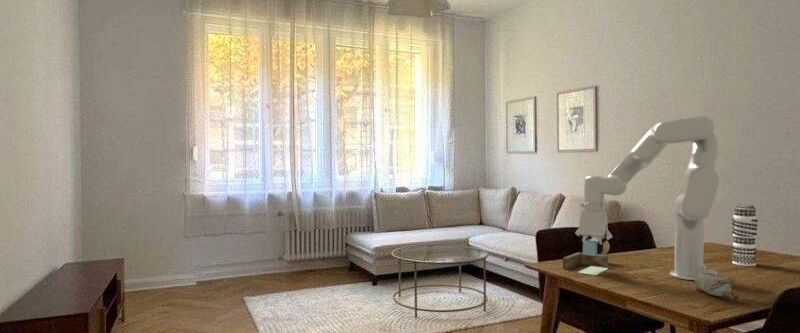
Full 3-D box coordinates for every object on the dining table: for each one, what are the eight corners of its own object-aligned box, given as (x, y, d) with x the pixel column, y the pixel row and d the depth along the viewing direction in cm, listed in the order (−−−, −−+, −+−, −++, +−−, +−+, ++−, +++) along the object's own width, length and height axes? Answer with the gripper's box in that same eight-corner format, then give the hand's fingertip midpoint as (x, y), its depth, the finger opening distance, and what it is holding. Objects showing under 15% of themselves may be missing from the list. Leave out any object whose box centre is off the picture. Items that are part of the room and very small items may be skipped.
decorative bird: (703, 289, 175) (703, 268, 175) (741, 303, 159) (741, 279, 159) (689, 290, 174) (689, 268, 174) (725, 304, 158) (726, 280, 158)
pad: (608, 268, 206) (608, 268, 206) (595, 275, 195) (595, 274, 195) (591, 266, 211) (591, 265, 211) (577, 272, 199) (577, 272, 199)
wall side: (607, 266, 210) (608, 255, 210) (606, 267, 209) (606, 256, 208) (577, 262, 218) (578, 252, 218) (576, 263, 217) (576, 252, 216)
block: (594, 255, 198) (594, 243, 198) (582, 254, 201) (583, 241, 201) (602, 252, 205) (603, 240, 205) (591, 251, 208) (591, 238, 208)
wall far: (582, 263, 217) (582, 252, 217) (567, 269, 205) (567, 258, 205) (577, 262, 218) (578, 252, 218) (562, 268, 206) (562, 257, 206)
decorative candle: (749, 261, 220) (750, 203, 219) (762, 266, 211) (763, 206, 210) (726, 261, 221) (727, 203, 220) (738, 265, 212) (739, 205, 211)
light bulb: (607, 264, 214) (607, 240, 214) (591, 262, 218) (591, 239, 218) (611, 262, 219) (611, 238, 219) (596, 260, 223) (596, 237, 223)
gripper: (569, 206, 205) (568, 251, 205) (612, 209, 194) (611, 257, 195) (576, 204, 211) (575, 248, 211) (619, 208, 200) (618, 254, 200)
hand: (592, 252), depth 203 cm, fingers closed on block, 4 cm apart
